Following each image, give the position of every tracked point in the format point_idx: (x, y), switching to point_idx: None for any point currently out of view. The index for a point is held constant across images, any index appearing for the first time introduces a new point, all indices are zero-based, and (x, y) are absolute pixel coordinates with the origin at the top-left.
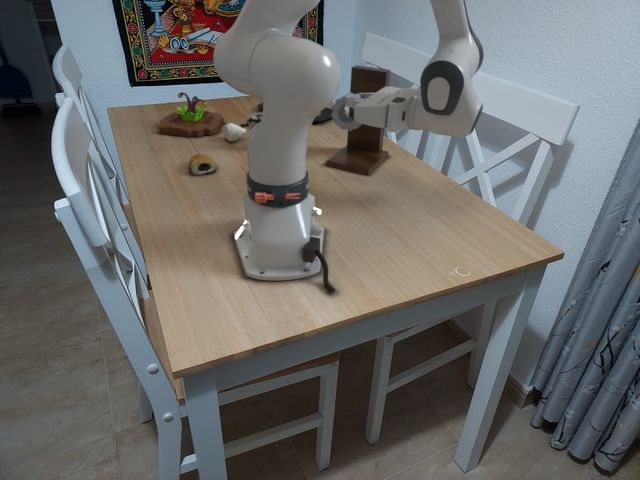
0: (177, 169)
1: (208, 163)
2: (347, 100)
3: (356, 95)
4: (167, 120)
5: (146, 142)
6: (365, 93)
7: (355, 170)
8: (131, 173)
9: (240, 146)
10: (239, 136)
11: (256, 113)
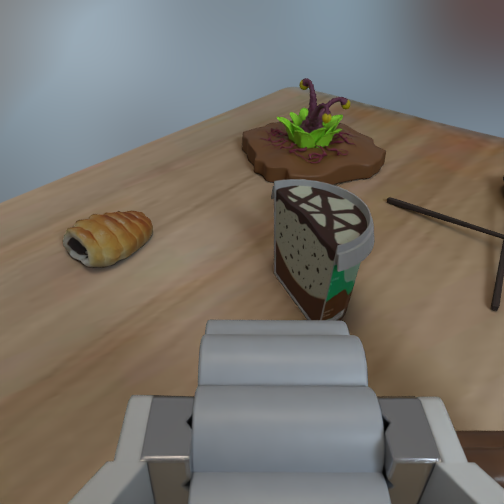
0: None
1: (82, 244)
2: (132, 406)
3: (312, 420)
4: (277, 127)
5: (192, 149)
6: (460, 475)
7: None
8: (46, 187)
9: None
10: None
11: (320, 183)
